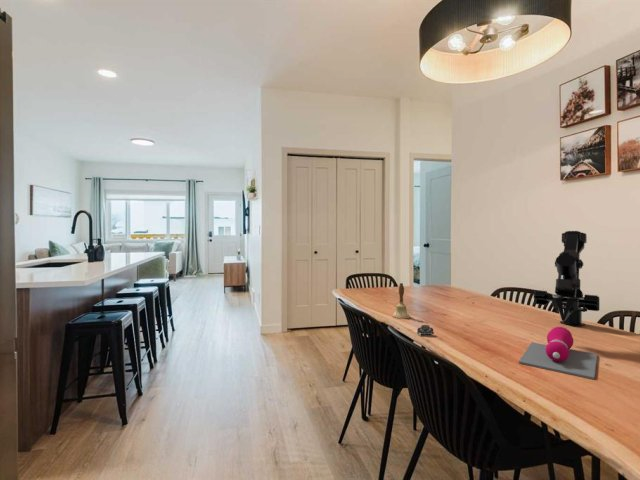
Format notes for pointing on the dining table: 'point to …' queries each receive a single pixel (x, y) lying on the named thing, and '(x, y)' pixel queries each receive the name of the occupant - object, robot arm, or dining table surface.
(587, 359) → the mat
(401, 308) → the hand bell
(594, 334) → the dining table surface
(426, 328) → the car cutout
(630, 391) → the dining table surface
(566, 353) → the pepper mill
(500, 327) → the dining table surface
